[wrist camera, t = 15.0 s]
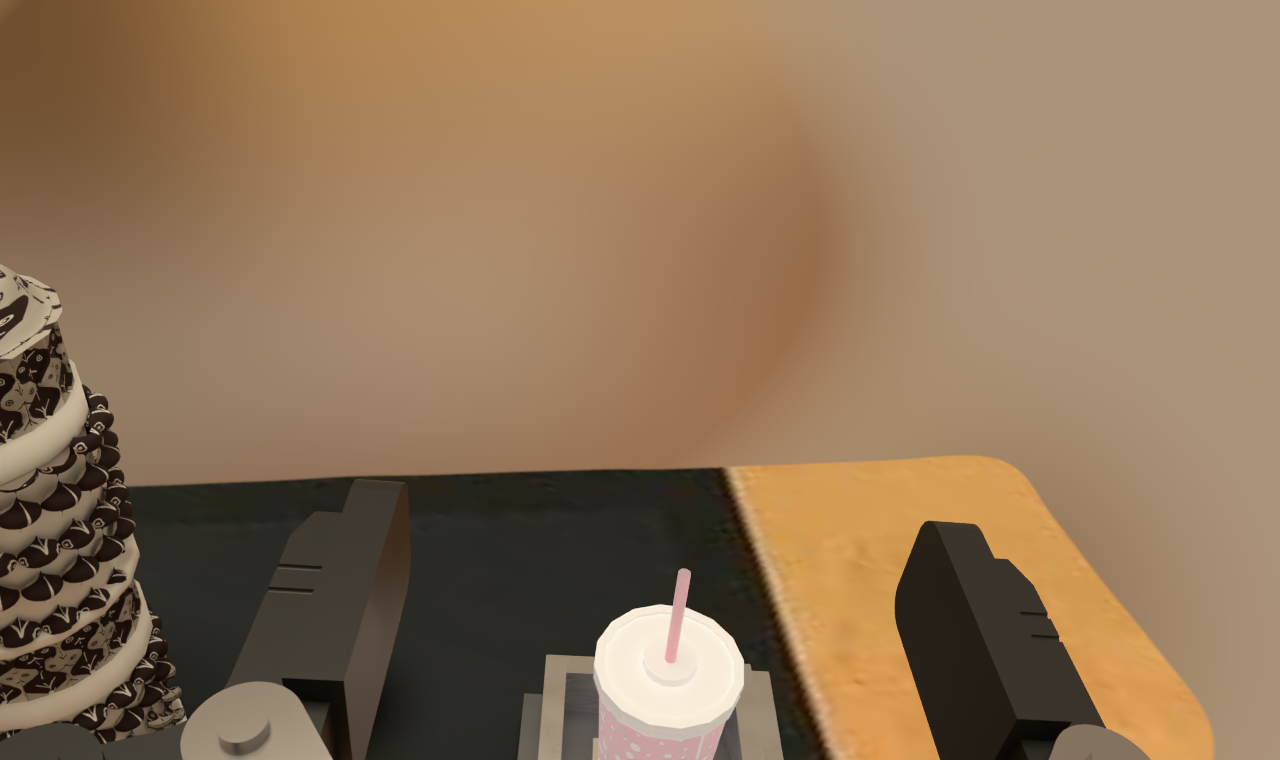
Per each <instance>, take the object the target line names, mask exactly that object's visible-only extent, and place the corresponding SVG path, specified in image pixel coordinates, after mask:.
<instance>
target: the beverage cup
mask: <svg viewBox="0 0 1280 760" xmlns="http://www.w3.org/2000/svg"><path fill="white" fill-rule="evenodd" d="M690 576H691V572H690V571H689V570H688V569H680V570H679V571H678V578H677V584H676V590H675V596H674V602H673V606H667V605H655V606H649V607H643V608H638V609H633V610H631V611H630V612H628V613H626V614H624V615H623V616H621V617H619V618H618V619H616V620H614V621H612V622H611V624H610V625H609V626H608V628H607V629H606V630H605V632H604V633H603V634H602V636H601V637H600V639H599V640H598V642H597V649H596V655H595V661H594V677H593V678H594V681H595V684H596V687H597V690H598V693H599V751H598V760H713V757H714V754H715V751H716V748H717V746H718V743H719V740H720V737H721V734H722V731H723V728H724V725H725V722H726V720H728V719H729V717H730V716H731V714H732V712H733V710H734V708H735V706H736V704H737V702H738V700H739V698H740V693H741V692H742V690H743V686H744V660H743V658H742V656H741V654H740V652H739V650H738V648H737V646H736V644H735V642H734V640H733V638H732V637H731V636H730V635H729V634H728V633H727V632H726V631H725V630H724V629H723V628H721V627H720V626H719V625H718V624H717V623H716V622H715V621H714V620H713V619H710V618H708V617H706V616H704V615H702V614H699V613H697V612H695V611H693V610H691V609H688V608H685V605H686V599H687V594H688V588H689V582H690Z"/></svg>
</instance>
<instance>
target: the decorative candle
mask: <svg viewBox="0 0 1280 760" xmlns="http://www.w3.org/2000/svg"><path fill="white" fill-rule="evenodd" d="M62 311H63V310H62V307H61V304H60V302H59V299H58V296H57V294H56V291H55V290H53V289H52V288H50V287H48V286H46V285H44V284H42V283H41V282H39V281H37V280H35V279H33V278H31V277H29V276H23V275H17V274H16V273H14V272H13V271H12V270H10V269H8V268H6V267H4V266H3V265H1V264H0V742H1V741H3V740H5V739H6V738H8V737H10V736H12V735H14V734H16V733H18V732H21V731H23V730H25V729H29V728H32V727H35V726H39V725H44V724H50V723H69V724H74V725H78V726H81V727H83V728H85V729H87V730H89V731H90V732H91V733H93V734H94V735H95V737H96V738H97V739H98V741H99V743H100V744H104V743H108V742H113V741H117V740H122V739H126V738H130V737H135V736H139V735H143V734H148V733H152V732H156V731H160V730H163V729H167V728H170V727H172V726H175V725H177V724H180V723H182V722H184V721H186V720H187V718H186V711H185V709H184V708H183V706H182V703H181V700H180V699H179V697H180V696H181V694H182V690H181V688H180V687H178V686H173V687H170V688H169V687H167V686H166V684H168V683H170V682H171V681H172V678H173V677H174V676H175V674H176V668H175V667H174V666H173V665H171V662H170V660H169V659H167V656H166V653H167V651H168V644H167V642H166V640H165V639H164V638H163V636H161V635H160V634H159V632H160V630H161V627H162V622H161V619H160V618H159V616H157V615H156V614H153V610H152V608H151V606H150V605H149V604H148V603H146V601H145V599H144V596H143V593H142V590H141V587H140V584H139V582H137V581H136V580H135V579H134V576H133V575H134V572H135V569H136V565H137V562H138V559H139V556H140V554H139V550H138V547H137V545H136V542H135V539H134V536H133V531H134V529H135V522H134V520H133V519H132V518H131V516H132V514H133V507H132V505H131V503H130V502H128V501H126V500H127V498H128V495H129V490H128V488H127V487H126V486H125V485H124V484H123V482H124V474H123V472H122V471H121V470H120V469H119V468H117V467H113V466H115V465H116V464H117V463H118V461H119V459H120V456H121V454H120V450H119V448H118V447H116V446H117V444H118V437H117V435H116V434H115V432H113V431H112V430H110V429H109V428H110V427H111V425H112V424H113V421H114V416H113V414H112V413H111V412H110V411H108V410H107V409H108V401H107V399H106V397H105V396H103V395H102V394H99V393H91V391H90V389H89V388H88V387H86V386H84V385H83V384H81V381H80V378H79V376H78V373H77V370H76V367H75V364H74V362H72V361H71V360H69V359H68V356H67V353H66V349H65V346H64V343H63V339H62V336H61V333H60V329H59V326H58V323H57V319H58V317H59V316H60V314H61V312H62ZM89 412H90V416H89V418H87V417H88V415H89ZM97 448H98V452H97V457H94V456H93V454H92V451H94V450H96V449H97ZM105 482H107V488H103V487H102V485H103V484H104V483H105ZM163 686H165V687H163Z"/></svg>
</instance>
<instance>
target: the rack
mask: <svg viewBox="0 0 1280 760" xmlns="http://www.w3.org/2000/svg"><path fill="white" fill-rule="evenodd" d="M594 661H595V657H584V656H562V655H546V667H545V679H544V691H543V694H524V702H523V712H522V722H521V731H520V741H519V750H518V760H598V751H599V693H598V690H597V687H596V684H595V681H594V678H593V677H594ZM713 760H783V754H782V748H781V742H780V736H779V730H778V724H777V718H776V712H775V706H774V700H773V694H772V688H771V682H770V676H769V672H763V671H751V665H750V664H744V686H743V690H742V692H741V693H740V698H739V700H738V702H737V704H736V706H735V708H734V710H733V712H732V714H731V716H730V717H729V719H728V720H726V722H725V725H724V728H723V731H722V734H721V737H720V740H719V743H718V746H717V748H716V751H715V754H714V757H713Z"/></svg>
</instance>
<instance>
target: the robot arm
mask: <svg viewBox="0 0 1280 760" xmlns="http://www.w3.org/2000/svg"><path fill="white" fill-rule="evenodd" d="M409 573H410V530H409V506H408V489H407V484H406V483H404V482H390V481H376V480H362V479H356V480H355V481H354V483H353V484H352V487H351V489H350V492H349V495H348V498H347V500H346V503H345V506H344V509H343V511H342V513H333V512H319V511H315V512H314V513H313V514H312V515H311V516H310V517H309V518H308V519H307V520H306V521H305V522H304V523H303V524H302V525H300V526H299V527H298V528H297V529H296V530H295V531H294V532H293V533H292V534H291V535H290V537H289V540H288V542H287V544H286V547H285V549H284V551H283V554H282V556H281V559H280V561H279V563H278V569H276V570H275V573H274V575H273V578H272V580H271V582H270V585H269V590H268V593H266V594H265V596H264V599H263V601H262V604H261V606H260V608H259V611H258V613H257V615H256V618H255V620H254V623H253V625H252V627H251V630H250V632H249V634H248V637H247V639H246V641H245V644H244V646H243V649H242V651H241V653H240V656H239V658H238V660H237V663H236V665H235V667H234V670H233V672H232V675H231V677H230V679H229V681H228V683H227V685H226V686H225V687H224V689H223V690H222V691H220V692H219V693H217V694H215V695H213V696H212V697H210V698H209V699H208V700H206V701H205V702H204V703H203V704H202V705H201V706H199V707H198V708H197V710H196V711H195V712H194V713H193V714H192V715H191V717H190V719H188V720H186V721H184V722H182V723H180V724H177V725H175V726H172V727H170V728H167V729H163V730H160V731H156V732H152V733H148V734H143V735H139V736H135V737H130V738H126V739H122V740H117V741H113V742H108V743H104V744H100V743H99V741H98V739H97V738H96V737H95V735H94V734H93V733H91V732H90V731H89V730H87V729H85V728H83V727H81V726H78V725H74V724H69V723H50V724H44V725H39V726H35V727H32V728H29V729H25V730H23V731H21V732H18V733H16V734H14V735H12V736H10V737H8V738H6V739H5V740H3V741H1V742H0V760H365V756H366V752H367V748H368V744H369V740H370V736H371V732H372V728H373V724H374V720H375V716H376V712H377V708H378V704H379V700H380V696H381V692H382V689H383V685H384V681H385V677H386V673H387V669H388V665H389V661H390V657H391V653H392V649H393V645H394V641H395V637H396V633H397V629H398V625H399V621H400V617H401V613H402V609H403V605H404V602H405V597H406V593H407V588H408V581H409ZM1047 614H1048V613H1047V611H1046V609H1045V607H1044V605H1043V603H1042V601H1041V599H1040V597H1039V595H1038V593H1037V591H1036V589H1035V587H1034V585H1033V584H1032V583H1031V582H1030V581H1029V580H1028V579H1027V578H1026V577H1025V576H1024V575H1023V574H1022V573H1021V572H1020V571H1019V570H1018V569H1017V568H1016V567H1015V566H1014V565H1013V564H1012V563H1011V562H1010V561H1009V560H1008V559H995V558H994V557H993V554H992V552H991V550H990V548H989V546H988V544H987V542H986V540H985V538H984V535H983V533H982V532H981V530H980V528H979V527H978V526H976V525H975V524H967V523H953V522H938V521H926V522H925V523H924V524H923V525H922V526H921V528H920V530H919V533H918V535H917V538H916V541H915V543H914V546H913V548H912V551H911V553H910V556H909V559H908V561H907V564H906V566H905V569H904V571H903V574H902V577H901V579H900V582H899V584H898V587H897V591H896V596H895V618H896V624H897V628H898V631H899V635H900V638H901V641H902V644H903V647H904V650H905V653H906V656H907V659H908V662H909V665H910V668H911V671H912V675H913V678H914V681H915V684H916V687H917V690H918V693H919V696H920V699H921V702H922V705H923V708H924V711H925V715H926V718H927V721H928V724H929V727H930V730H931V733H932V736H933V739H934V742H935V745H936V748H937V751H938V755H939V758H940V760H1150V758H1149V757H1148V756H1147V755H1146V754H1145V753H1144V752H1143V751H1142V750H1141V749H1140V748H1139V747H1137V746H1136V745H1135V744H1134V743H1132V742H1131V741H1130V740H1128V739H1126V738H1125V737H1123V736H1122V735H1120V734H1118V733H1116V732H1114V731H1112V730H1109V729H1106V727H1105V725H1104V723H1103V721H1102V719H1101V717H1100V715H1099V713H1098V711H1097V709H1096V708H1095V706H1094V704H1093V702H1092V700H1091V698H1090V696H1089V694H1088V692H1087V690H1086V688H1085V686H1084V684H1083V682H1082V680H1081V678H1080V676H1079V674H1078V672H1077V670H1076V668H1075V666H1074V664H1073V662H1072V660H1071V658H1070V656H1069V654H1068V652H1067V650H1066V648H1065V646H1064V644H1063V642H1059V635H1058V633H1057V631H1056V629H1055V627H1054V625H1053V623H1052V621H1051V619H1048V618H1047Z"/></svg>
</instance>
